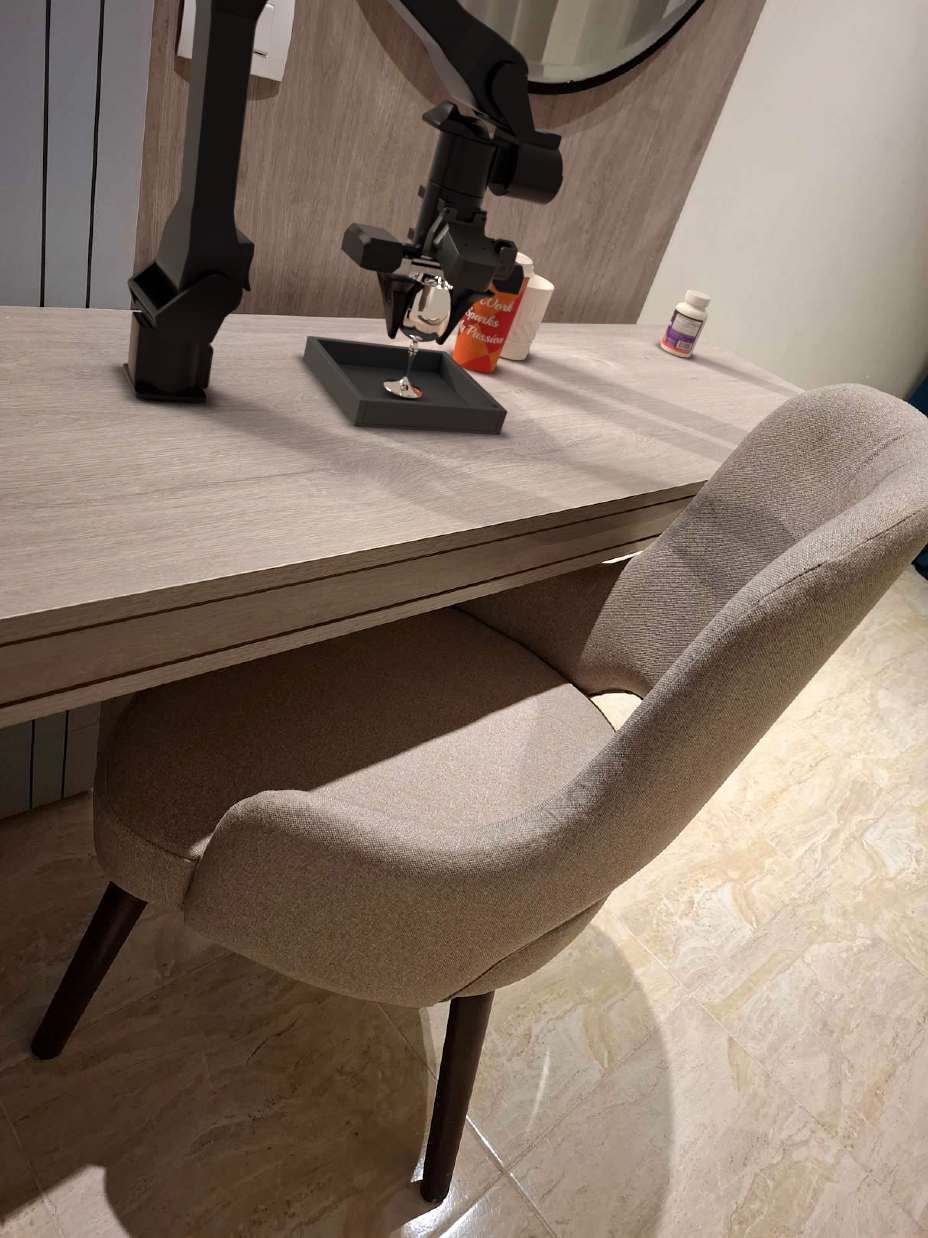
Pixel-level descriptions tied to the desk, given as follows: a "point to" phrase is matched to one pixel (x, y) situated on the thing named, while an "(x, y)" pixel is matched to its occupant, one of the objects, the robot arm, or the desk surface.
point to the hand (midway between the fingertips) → (415, 340)
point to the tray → (366, 402)
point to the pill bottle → (686, 324)
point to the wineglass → (422, 322)
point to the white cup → (527, 318)
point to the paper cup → (489, 325)
